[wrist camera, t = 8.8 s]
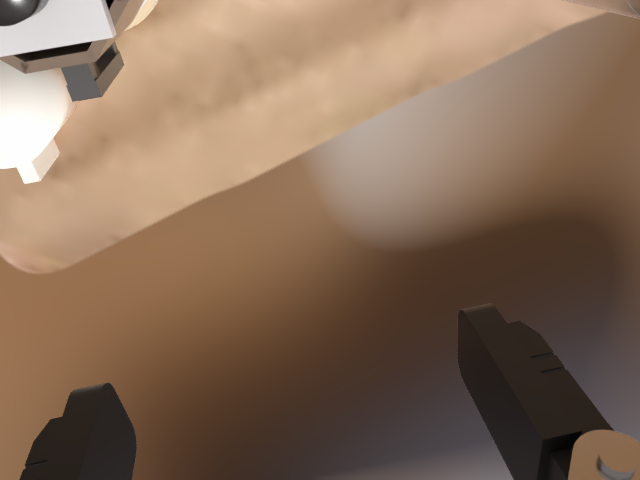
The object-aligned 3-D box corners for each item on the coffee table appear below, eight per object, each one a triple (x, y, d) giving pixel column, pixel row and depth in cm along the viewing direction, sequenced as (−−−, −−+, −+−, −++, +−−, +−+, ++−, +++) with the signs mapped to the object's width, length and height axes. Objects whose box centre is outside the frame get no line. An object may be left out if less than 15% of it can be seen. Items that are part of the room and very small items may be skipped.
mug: (58, 20, 41) (20, 43, 34) (103, 139, 47) (79, 182, 39) (-45, 38, 41) (-107, 65, 33) (12, 155, 46) (-30, 202, 38)
